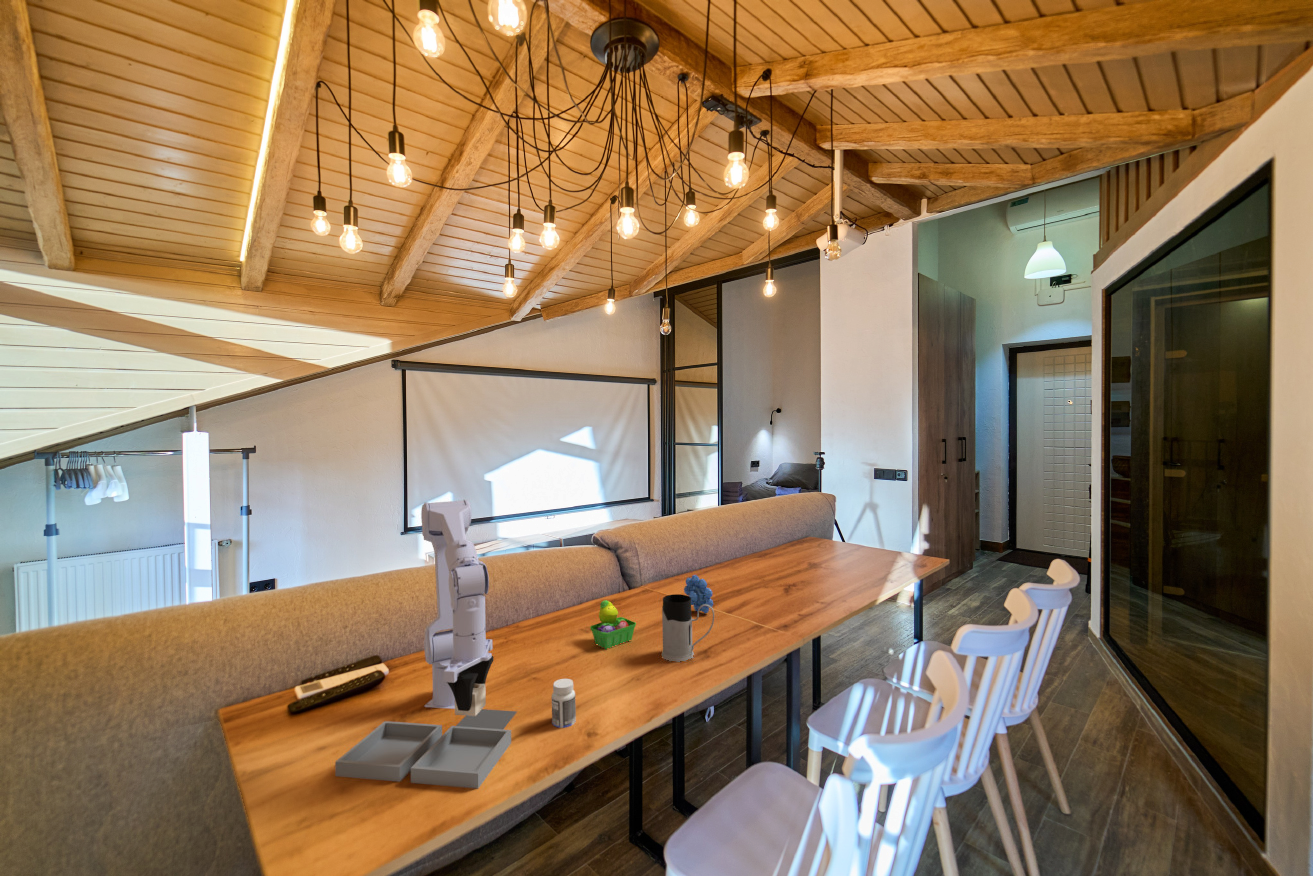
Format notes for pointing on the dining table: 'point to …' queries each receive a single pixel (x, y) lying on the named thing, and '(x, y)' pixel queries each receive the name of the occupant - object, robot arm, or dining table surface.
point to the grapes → (698, 593)
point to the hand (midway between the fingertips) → (470, 703)
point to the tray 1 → (388, 751)
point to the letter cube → (475, 701)
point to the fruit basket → (611, 627)
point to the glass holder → (678, 627)
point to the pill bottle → (563, 703)
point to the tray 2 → (461, 757)
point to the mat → (488, 719)
